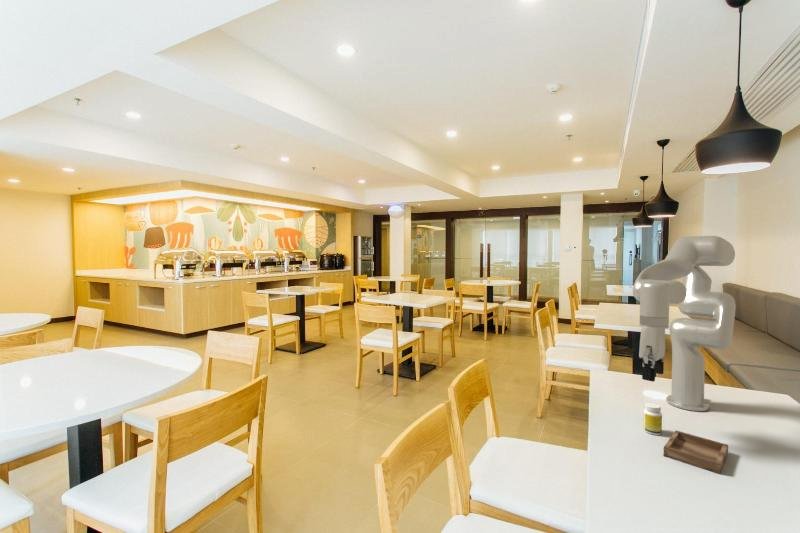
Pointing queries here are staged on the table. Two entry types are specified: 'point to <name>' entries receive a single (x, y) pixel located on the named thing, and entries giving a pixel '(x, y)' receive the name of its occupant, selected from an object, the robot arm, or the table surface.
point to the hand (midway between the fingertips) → (652, 376)
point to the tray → (696, 451)
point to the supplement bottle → (652, 419)
